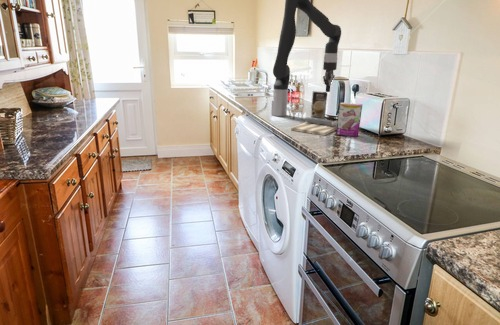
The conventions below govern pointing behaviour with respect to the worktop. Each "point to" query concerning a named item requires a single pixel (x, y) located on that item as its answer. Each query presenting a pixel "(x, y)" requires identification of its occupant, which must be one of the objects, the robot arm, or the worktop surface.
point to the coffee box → (318, 104)
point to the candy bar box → (349, 119)
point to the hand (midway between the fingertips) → (327, 91)
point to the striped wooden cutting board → (314, 128)
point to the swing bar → (321, 121)
